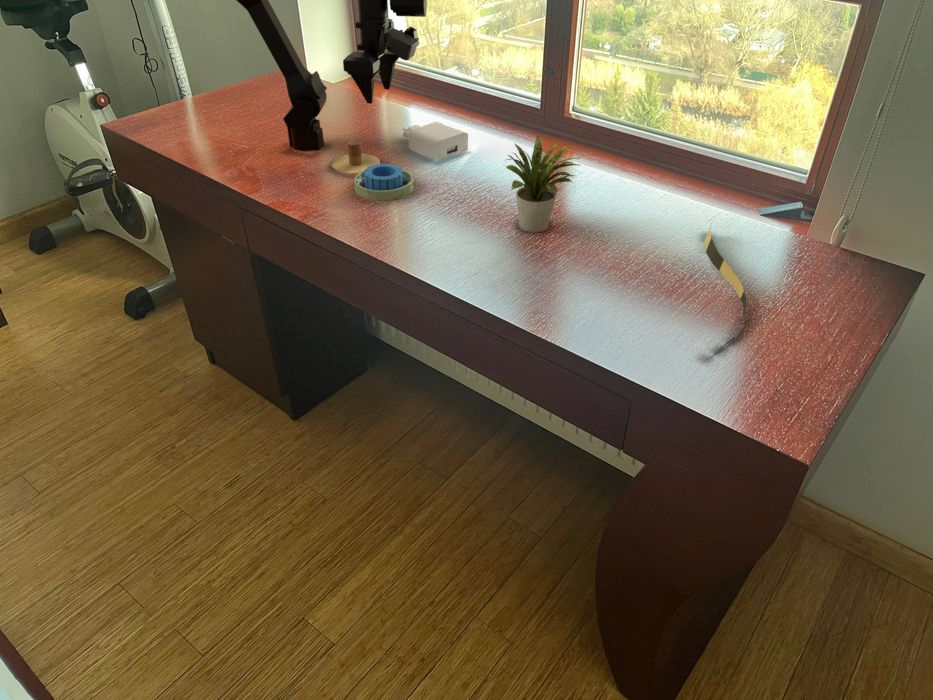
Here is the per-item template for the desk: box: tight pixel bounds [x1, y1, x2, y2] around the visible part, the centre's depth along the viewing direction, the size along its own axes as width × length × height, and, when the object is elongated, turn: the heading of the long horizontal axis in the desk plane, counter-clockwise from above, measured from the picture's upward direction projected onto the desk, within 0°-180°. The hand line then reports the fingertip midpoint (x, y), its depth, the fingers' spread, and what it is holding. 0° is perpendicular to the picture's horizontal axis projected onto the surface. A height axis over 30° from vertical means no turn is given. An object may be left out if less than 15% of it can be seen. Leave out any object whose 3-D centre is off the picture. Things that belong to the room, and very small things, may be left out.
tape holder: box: [331, 139, 381, 174], centre depth 153 cm, size 10×10×5 cm
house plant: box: [503, 134, 581, 233], centre depth 129 cm, size 14×14×16 cm
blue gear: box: [364, 163, 404, 191], centre depth 144 cm, size 7×7×4 cm
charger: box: [402, 121, 469, 162], centre depth 161 cm, size 5×9×15 cm
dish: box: [353, 168, 415, 202], centre depth 145 cm, size 11×11×3 cm
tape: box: [703, 220, 748, 361], centre depth 116 cm, size 6×38×4 cm, turn 166°
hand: (378, 96), depth 154 cm, fingers open, 9 cm apart
